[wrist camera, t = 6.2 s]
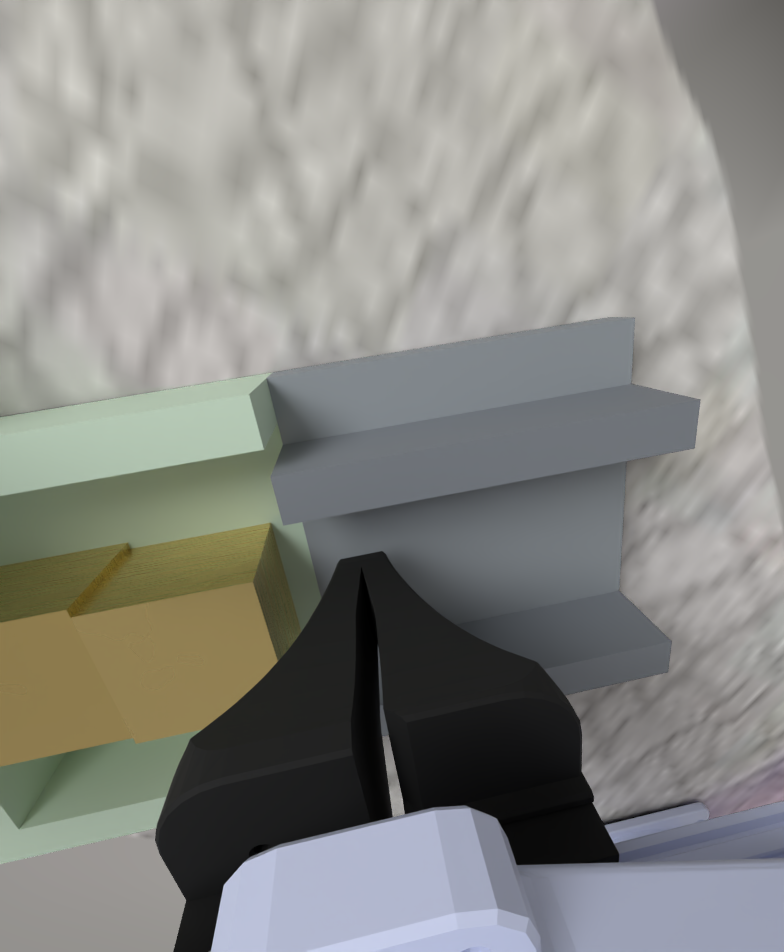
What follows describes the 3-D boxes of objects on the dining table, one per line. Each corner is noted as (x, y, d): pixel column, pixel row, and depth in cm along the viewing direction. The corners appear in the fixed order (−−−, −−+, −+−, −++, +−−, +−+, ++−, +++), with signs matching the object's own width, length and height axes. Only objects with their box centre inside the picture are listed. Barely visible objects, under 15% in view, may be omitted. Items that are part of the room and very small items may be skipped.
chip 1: (173, 651, 14) (132, 737, 11) (43, 677, 13) (-34, 773, 11) (127, 542, 12) (66, 609, 9) (-21, 569, 12) (-129, 647, 9)
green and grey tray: (596, 634, 17) (662, 714, 14) (66, 748, 16) (-8, 869, 12) (608, 317, 13) (710, 317, 9) (-123, 437, 11) (-321, 490, 8)
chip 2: (301, 631, 14) (293, 709, 11) (176, 656, 14) (136, 744, 11) (270, 522, 12) (252, 582, 10) (130, 549, 12) (70, 617, 9)
